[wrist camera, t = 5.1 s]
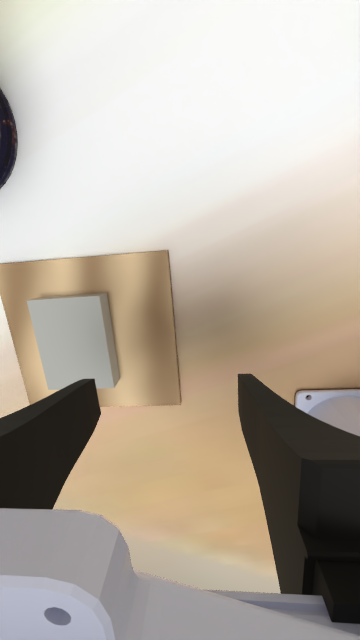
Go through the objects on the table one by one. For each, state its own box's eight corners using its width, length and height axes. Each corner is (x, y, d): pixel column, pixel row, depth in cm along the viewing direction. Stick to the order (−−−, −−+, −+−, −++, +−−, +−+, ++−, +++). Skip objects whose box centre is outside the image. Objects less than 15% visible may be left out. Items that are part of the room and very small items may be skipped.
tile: (99, 295, 19) (26, 300, 19) (114, 388, 21) (48, 389, 21) (107, 292, 20) (40, 296, 21) (120, 378, 22) (59, 379, 23)
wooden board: (168, 250, 20) (167, 250, 19) (180, 401, 23) (180, 404, 23) (-2, 264, 21) (-8, 264, 21) (34, 404, 25) (30, 408, 24)
